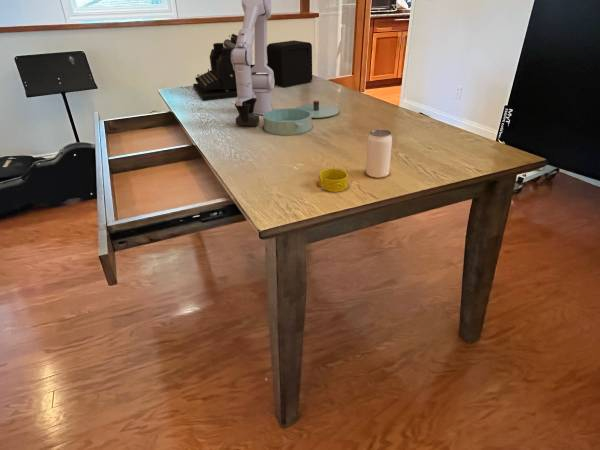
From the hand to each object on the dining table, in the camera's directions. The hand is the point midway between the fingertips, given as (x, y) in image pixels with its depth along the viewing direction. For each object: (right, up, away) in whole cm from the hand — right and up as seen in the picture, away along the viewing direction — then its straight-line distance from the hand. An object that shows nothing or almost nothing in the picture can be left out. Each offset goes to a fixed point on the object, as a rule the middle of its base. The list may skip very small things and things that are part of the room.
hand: (247, 119), depth 158 cm
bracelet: (+29, -30, -47) cm, 63 cm away
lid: (+27, +7, +13) cm, 31 cm away
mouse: (0, -1, +1) cm, 1 cm away
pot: (+16, -3, -2) cm, 16 cm away
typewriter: (-18, +28, +52) cm, 62 cm away
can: (+42, -26, -41) cm, 65 cm away
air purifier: (+15, +37, +65) cm, 76 cm away
